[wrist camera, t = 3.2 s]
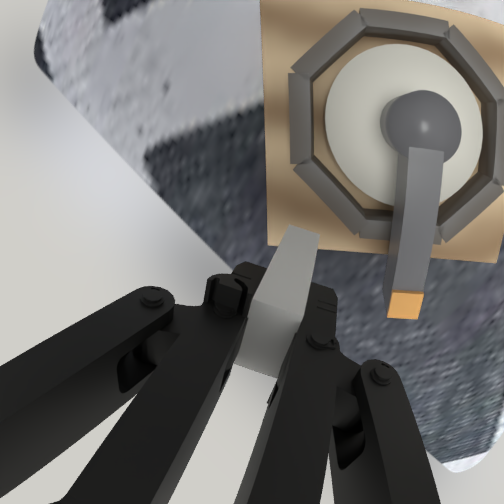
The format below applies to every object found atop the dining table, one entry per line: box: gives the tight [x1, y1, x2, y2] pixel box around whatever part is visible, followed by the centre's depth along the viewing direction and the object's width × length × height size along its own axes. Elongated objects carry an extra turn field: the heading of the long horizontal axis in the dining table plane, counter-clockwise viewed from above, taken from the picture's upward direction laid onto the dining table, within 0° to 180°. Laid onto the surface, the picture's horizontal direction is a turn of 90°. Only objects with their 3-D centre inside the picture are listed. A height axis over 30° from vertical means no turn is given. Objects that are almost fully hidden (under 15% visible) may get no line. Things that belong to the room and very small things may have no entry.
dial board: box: [260, 0, 504, 263], centre depth 17 cm, size 18×18×4 cm
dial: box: [325, 44, 483, 319], centre depth 15 cm, size 15×10×6 cm, turn 2°
